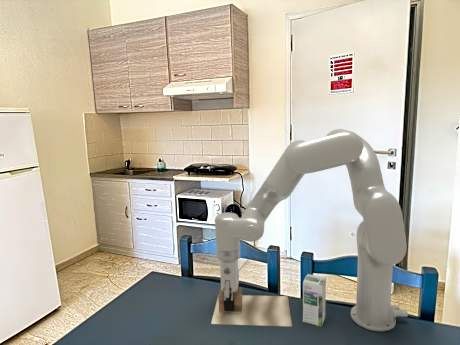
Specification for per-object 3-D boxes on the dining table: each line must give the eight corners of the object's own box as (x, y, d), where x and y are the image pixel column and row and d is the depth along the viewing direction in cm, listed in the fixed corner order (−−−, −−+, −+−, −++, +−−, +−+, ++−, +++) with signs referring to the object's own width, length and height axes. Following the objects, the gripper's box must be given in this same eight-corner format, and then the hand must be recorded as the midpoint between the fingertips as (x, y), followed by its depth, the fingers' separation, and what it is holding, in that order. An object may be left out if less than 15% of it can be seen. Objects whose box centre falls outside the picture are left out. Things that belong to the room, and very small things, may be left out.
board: (287, 300, 110) (287, 296, 110) (291, 330, 94) (291, 326, 94) (218, 298, 112) (218, 294, 112) (211, 328, 97) (211, 323, 96)
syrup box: (302, 326, 96) (302, 281, 94) (307, 315, 101) (307, 272, 99) (321, 331, 93) (322, 285, 91) (325, 320, 99) (326, 276, 96)
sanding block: (242, 304, 106) (241, 287, 105) (241, 313, 101) (240, 295, 100) (221, 303, 106) (220, 287, 105) (219, 312, 102) (218, 295, 101)
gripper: (238, 264, 92) (240, 322, 95) (242, 242, 108) (243, 291, 111) (212, 264, 92) (214, 321, 96) (220, 241, 109) (222, 291, 112)
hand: (230, 304), depth 103 cm, fingers closed on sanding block, 5 cm apart
